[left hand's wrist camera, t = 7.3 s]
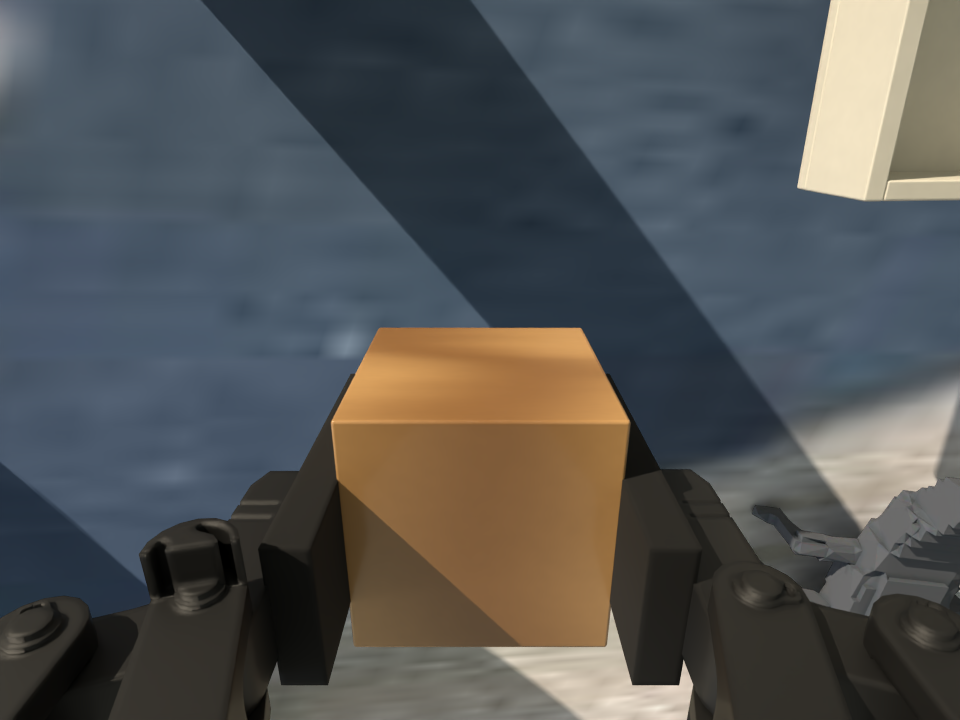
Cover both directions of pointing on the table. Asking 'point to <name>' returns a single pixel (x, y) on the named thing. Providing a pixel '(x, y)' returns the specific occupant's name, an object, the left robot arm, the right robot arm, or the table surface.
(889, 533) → the toy
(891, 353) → the table surface
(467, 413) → the wooden cube
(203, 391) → the table surface
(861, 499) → the table surface
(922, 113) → the pan
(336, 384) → the table surface
